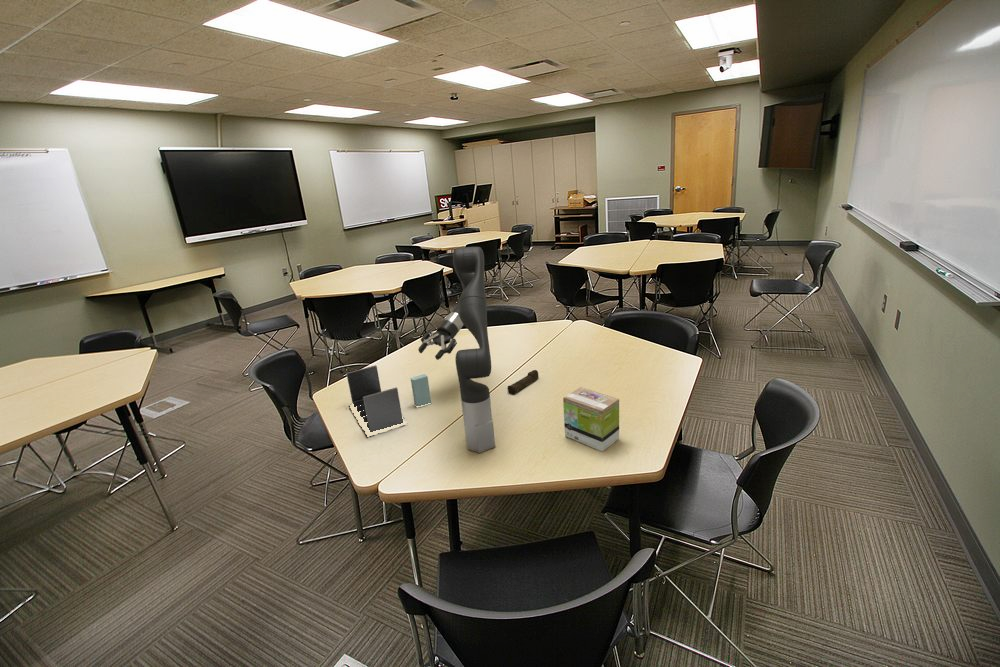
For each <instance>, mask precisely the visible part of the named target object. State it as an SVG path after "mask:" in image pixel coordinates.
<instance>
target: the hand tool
mask: <svg viewBox="0 0 1000 667" xmlns="http://www.w3.org/2000/svg"><path fill="white" fill-rule="evenodd" d="M539 378H540V377H539V372H538V370H536V369H533V370H532V371H529V372H527V375H526V376H524V377H522V378H520V379H519V380H518V381H515V382H514V383H512V384H510V385H507V387H506V388H507V393H508V394H510V395H515V394H517V393H518V392H519V391H520V390H522V389H523V388H525V387H527V386H528V385H529V384H534V383H535V382H537V380H538V379H539Z"/></svg>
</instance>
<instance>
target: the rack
mask: <svg viewBox="0 0 1000 667" xmlns="http://www.w3.org/2000/svg"><path fill="white" fill-rule="evenodd" d="M345 374H346V378H347V383H348V389H349V392H350V393H349V394H350V398H351V402H352V403H353V404H354V407H356V406H357V411H358V412H359V411H361V412H360V416H361V417H363V416H365V417H363V419H364V422H368V423H367V427H368V428H369V430H370V432H373V431H376V430H380V429H384V428H387V427H391V426H393V425H397V424H401V423H403V419H402V416H403V413H402V407H401V402H400V396H399V391H398V387H393V388H390V389H385V390H382V389H381V383H380V378H379V372H378V366H377V364H376V365H372V366H367V367H364V368H361V369H356V370H353V371H352V370H351V371H349V372H345ZM352 403H351V404H352ZM360 405H361V406H360ZM363 410H364V411H363ZM366 415H367V416H366Z"/></svg>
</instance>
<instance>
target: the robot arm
mask: <svg viewBox="0 0 1000 667" xmlns="http://www.w3.org/2000/svg"><path fill="white" fill-rule="evenodd" d="M452 264H453V268H454V271H455V274H456V275H457V277H458V280H459V281H460V283H461V287H462V292H461V294H460V296H459V299H458V302H457V304H456V306H455V307H454V308H453V310H452V311H451V312H450V313H449V314H448V315H447V316H446V317H445V318H444V320H443V321H442V322H441V323H440V325H438V327H437V329H436V330H435V331H432V330H431V329H428V330H427V332H426V333H425V334H424V335H423V336H422V337H421V338H420V342H421V344H420V346H418V349H417V350H418V353H419V354H423V352H424V351H425V350H426V349H427V347H428V346H434V345H436V346H438V347H441V349H440V350H438V352H437V353H436V354H435V356H434V357H435V359H436V361H439V360H441V359H442V357H443V356H444V355H445V354H448V355H449V354H451V353H452V352H453V350H454V349H455V347H456V346H457V344H458V342H457V340H456V338H455V337H456V336H457V335H458V333H459V331H460V330H461V329H462V328H463V327H464V326H465V327H466V329H467V330H468V331H469V332H470V333H471V334H472V336H473V337H474V338H475V341H476V343H477V344H478V346H479V347H478V348H468V349H466V348H465V349H460V350H457V351H456V353H455V359H454V360H455V368H456V375H457V378H458V386H459V392H460V401H461V409H462V410H461V411H462V418H463V427H464V434H465V441H466V448H467V449H468V450H470V451H471V452H476V453H478V454H481V453H484V452H486V451H488V450H491V449H493V448H495V447H496V440H495V438H496V437H495V431H494V429H495V428H494V421H493V415H492V414H493V413H492V404H491V402H492V401H491V394H490V388H489V387H488V385H486V384H485V383H481V382H478V381H475V380H474V379H481V378H483V379H484V378H488V377H490V375H491V373H492V358H491V351H490V341H489V334H488V311H487V310H488V309H487V307H488V306H487V298H486V288H485V286H486V285H485V254H484V251H483V249H482V247H480V246H469V247H468V246H466V247H464V246H463V247H457V248H455V249H454V250H453V252H452Z"/></svg>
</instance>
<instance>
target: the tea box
mask: <svg viewBox="0 0 1000 667" xmlns="http://www.w3.org/2000/svg"><path fill="white" fill-rule="evenodd" d="M562 399H563V401H562V402H563V419H564V420H563V422H564V425H563V426H564V436H565V437H567V438H569V439H570V440H571V439H572V440H574V441H577V442H578V443H581V444H583V445H586V446H588V447H590V448H593V449H595V450H598V451H599V452H604V451H606V450H607V449H608V448H609V447H610V446H612V445H613V444H614V443H615V442H617V441H618V440H619V439H620V398H616V397H613V396H611V395H607V394H604V393H601V392H597V391H595V390H591V389H588V388H586V387H581V386H580V387H578V388H577V389H576V390H574V391H572V392H570V393H569V394H567V395H566V396H564V397H563V398H562Z"/></svg>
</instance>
